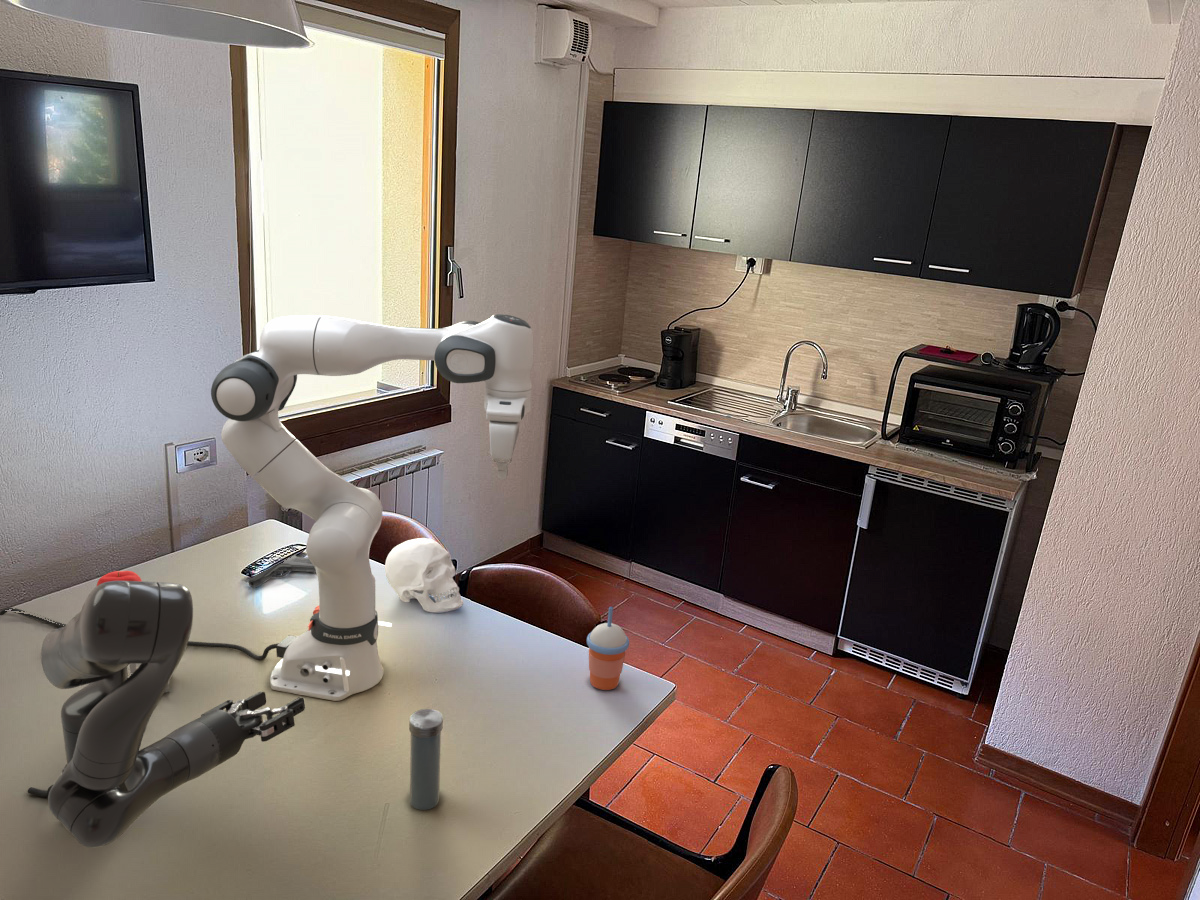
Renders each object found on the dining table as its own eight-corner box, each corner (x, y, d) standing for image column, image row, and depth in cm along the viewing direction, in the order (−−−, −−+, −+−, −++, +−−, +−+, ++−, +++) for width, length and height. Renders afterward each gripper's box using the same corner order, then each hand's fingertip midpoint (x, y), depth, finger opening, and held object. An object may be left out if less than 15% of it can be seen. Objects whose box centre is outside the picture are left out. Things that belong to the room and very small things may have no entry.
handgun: (292, 594, 211) (247, 586, 213) (325, 565, 228) (283, 558, 229) (291, 586, 211) (246, 578, 212) (325, 557, 227) (283, 550, 229)
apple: (148, 617, 195) (144, 577, 192) (100, 626, 190) (96, 585, 187) (142, 599, 203) (139, 560, 200) (96, 607, 198) (92, 568, 195)
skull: (448, 622, 203) (451, 561, 199) (372, 599, 211) (374, 540, 207) (477, 602, 215) (480, 543, 211) (405, 581, 223) (406, 524, 219)
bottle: (443, 804, 145) (445, 725, 140) (415, 813, 143) (416, 732, 138) (433, 786, 149) (435, 708, 144) (405, 795, 147) (406, 716, 142)
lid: (447, 732, 141) (447, 723, 140) (415, 741, 138) (415, 731, 137) (435, 714, 145) (436, 705, 145) (404, 722, 142) (404, 713, 142)
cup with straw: (621, 697, 179) (628, 621, 174) (578, 689, 181) (585, 613, 175) (628, 675, 188) (635, 601, 182) (588, 667, 189) (594, 594, 184)
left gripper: (230, 728, 121) (313, 682, 135) (162, 716, 127) (248, 673, 142) (238, 777, 122) (319, 727, 136) (169, 763, 128) (254, 716, 143)
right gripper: (496, 387, 172) (494, 452, 176) (485, 413, 153) (482, 486, 157) (528, 390, 172) (524, 455, 176) (520, 416, 153) (516, 488, 157)
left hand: (283, 700), depth 139 cm, fingers open, 8 cm apart
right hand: (504, 470), depth 166 cm, fingers open, 8 cm apart
